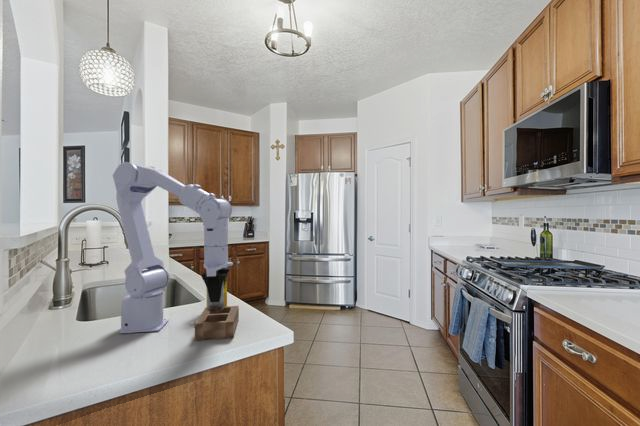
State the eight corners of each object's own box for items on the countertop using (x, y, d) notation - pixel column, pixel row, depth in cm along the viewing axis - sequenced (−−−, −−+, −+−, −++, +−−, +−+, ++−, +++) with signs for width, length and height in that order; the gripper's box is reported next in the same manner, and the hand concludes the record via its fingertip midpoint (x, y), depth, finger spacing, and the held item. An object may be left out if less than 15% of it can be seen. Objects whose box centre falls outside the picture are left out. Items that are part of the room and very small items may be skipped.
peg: (206, 312, 75) (206, 283, 75) (208, 307, 79) (207, 280, 79) (223, 310, 76) (223, 282, 76) (224, 305, 80) (223, 279, 80)
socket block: (194, 340, 74) (194, 324, 74) (205, 321, 86) (205, 307, 86) (233, 337, 75) (233, 321, 75) (238, 319, 88) (238, 305, 88)
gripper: (228, 248, 71) (229, 306, 71) (235, 242, 86) (235, 291, 86) (197, 249, 70) (197, 308, 70) (209, 243, 84) (209, 292, 84)
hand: (216, 299), depth 78 cm, fingers closed on peg, 4 cm apart
